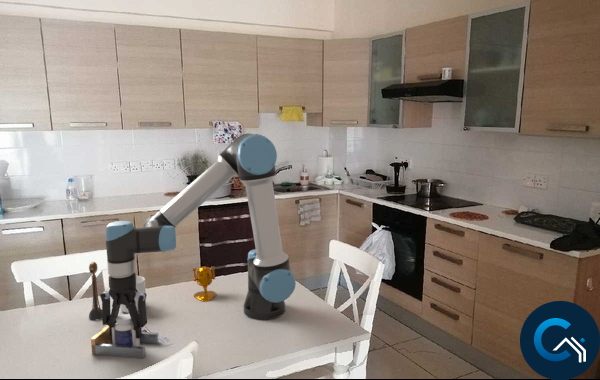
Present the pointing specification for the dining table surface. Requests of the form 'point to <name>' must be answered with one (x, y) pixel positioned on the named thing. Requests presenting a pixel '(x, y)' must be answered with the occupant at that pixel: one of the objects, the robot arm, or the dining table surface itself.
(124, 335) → the pill bottle
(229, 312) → the dining table surface
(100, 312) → the wooden tabletop sculpture
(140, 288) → the mug
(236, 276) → the dining table surface
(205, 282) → the gold trophy cup
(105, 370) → the dining table surface
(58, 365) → the dining table surface
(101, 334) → the rail cradle
